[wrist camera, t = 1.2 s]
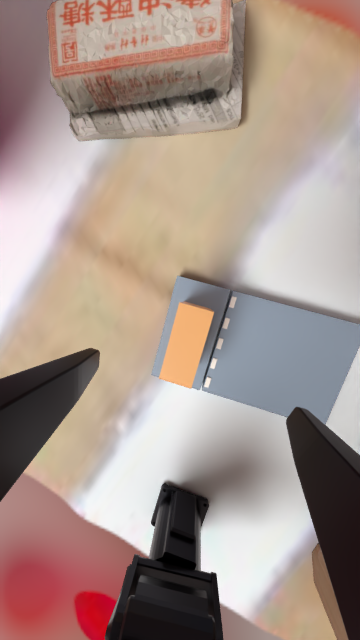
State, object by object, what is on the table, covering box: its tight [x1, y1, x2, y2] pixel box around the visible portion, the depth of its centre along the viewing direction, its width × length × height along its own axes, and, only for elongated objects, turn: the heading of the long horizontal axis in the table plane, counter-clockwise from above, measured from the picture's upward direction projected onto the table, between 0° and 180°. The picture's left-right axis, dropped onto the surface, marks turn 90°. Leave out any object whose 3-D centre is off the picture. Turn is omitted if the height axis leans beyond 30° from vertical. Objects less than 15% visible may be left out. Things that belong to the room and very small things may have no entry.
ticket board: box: [202, 291, 360, 424], centre depth 20 cm, size 12×14×1 cm
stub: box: [151, 276, 231, 390], centre depth 18 cm, size 12×6×6 cm, turn 165°
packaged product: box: [46, 0, 246, 141], centre depth 17 cm, size 18×5×10 cm
